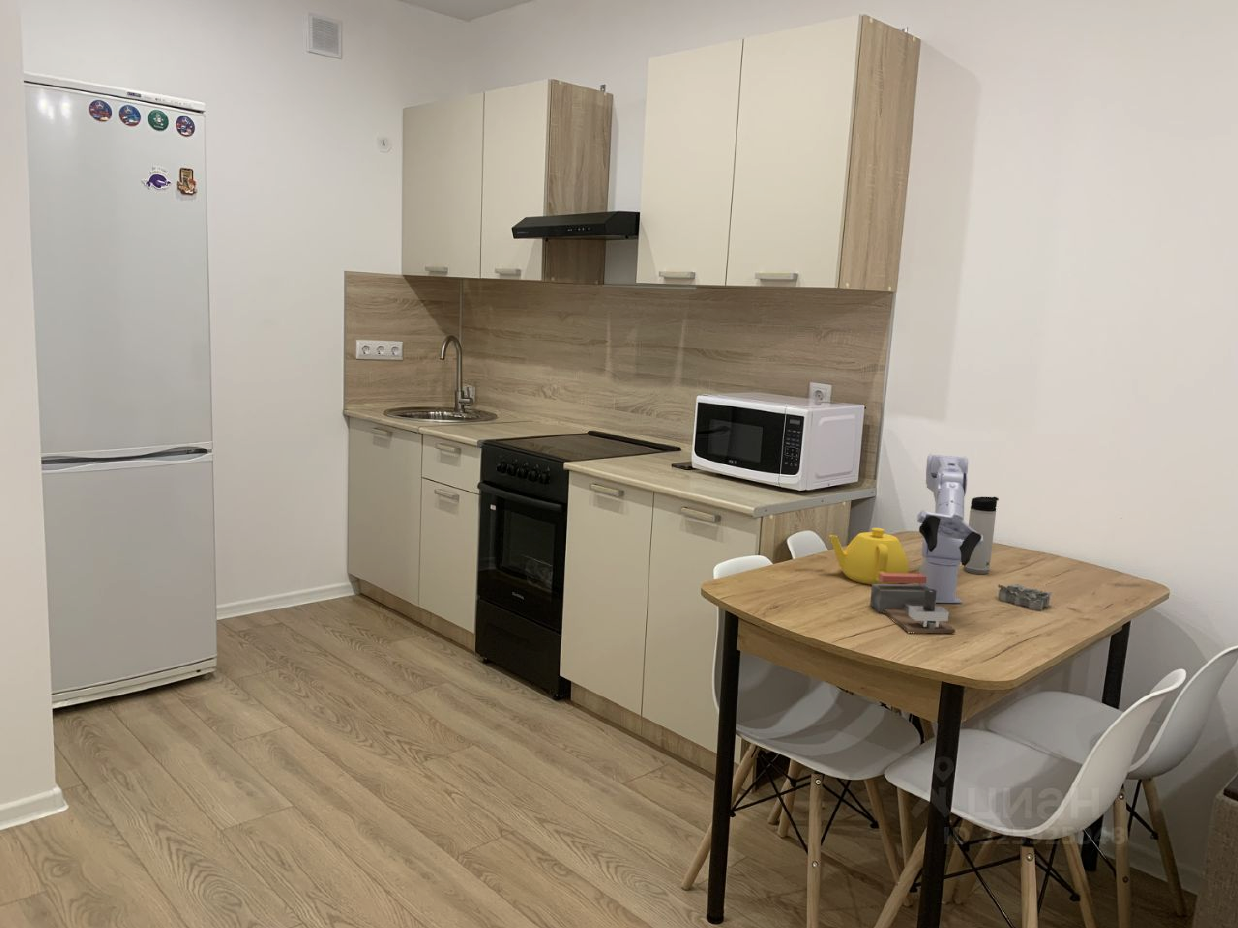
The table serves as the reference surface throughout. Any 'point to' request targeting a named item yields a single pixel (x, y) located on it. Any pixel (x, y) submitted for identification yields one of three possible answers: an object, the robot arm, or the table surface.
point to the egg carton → (1024, 596)
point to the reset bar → (902, 578)
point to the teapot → (871, 556)
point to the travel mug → (982, 533)
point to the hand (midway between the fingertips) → (949, 555)
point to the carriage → (928, 610)
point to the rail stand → (904, 606)
